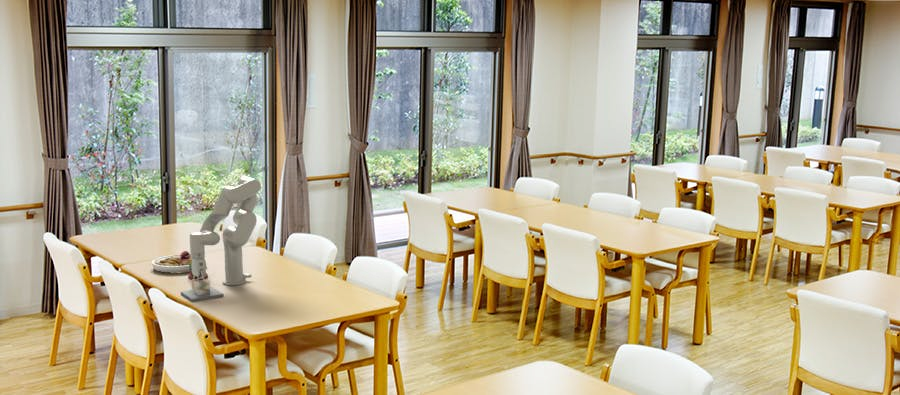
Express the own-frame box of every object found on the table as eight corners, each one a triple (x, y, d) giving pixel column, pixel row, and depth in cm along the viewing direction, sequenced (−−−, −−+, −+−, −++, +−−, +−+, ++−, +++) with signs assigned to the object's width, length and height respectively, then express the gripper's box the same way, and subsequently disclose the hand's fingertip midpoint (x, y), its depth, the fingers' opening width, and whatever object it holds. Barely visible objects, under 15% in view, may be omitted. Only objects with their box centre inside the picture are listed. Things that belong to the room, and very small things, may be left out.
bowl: (197, 275, 533) (197, 261, 532) (145, 274, 533) (144, 261, 532) (211, 262, 563) (210, 249, 561) (161, 262, 563) (161, 249, 562)
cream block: (205, 290, 495) (205, 279, 494) (210, 293, 489) (209, 282, 488) (193, 292, 491) (193, 281, 490) (198, 295, 486) (197, 283, 485)
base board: (211, 289, 502) (211, 286, 502) (223, 296, 488) (223, 293, 488) (180, 294, 492) (180, 291, 492) (192, 301, 479) (191, 298, 478)
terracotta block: (202, 286, 507) (201, 277, 507) (205, 289, 503) (205, 280, 502) (192, 288, 504) (191, 279, 503) (195, 290, 500) (195, 281, 499)
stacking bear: (188, 279, 522) (186, 248, 519) (188, 275, 532) (186, 244, 529) (208, 278, 525) (206, 247, 522) (207, 273, 535) (206, 243, 532)
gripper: (210, 257, 496) (211, 290, 499) (198, 251, 509) (200, 283, 513) (196, 259, 491) (197, 292, 494) (185, 253, 505) (186, 285, 508)
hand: (198, 287), depth 503 cm, fingers closed on terracotta block, 5 cm apart
